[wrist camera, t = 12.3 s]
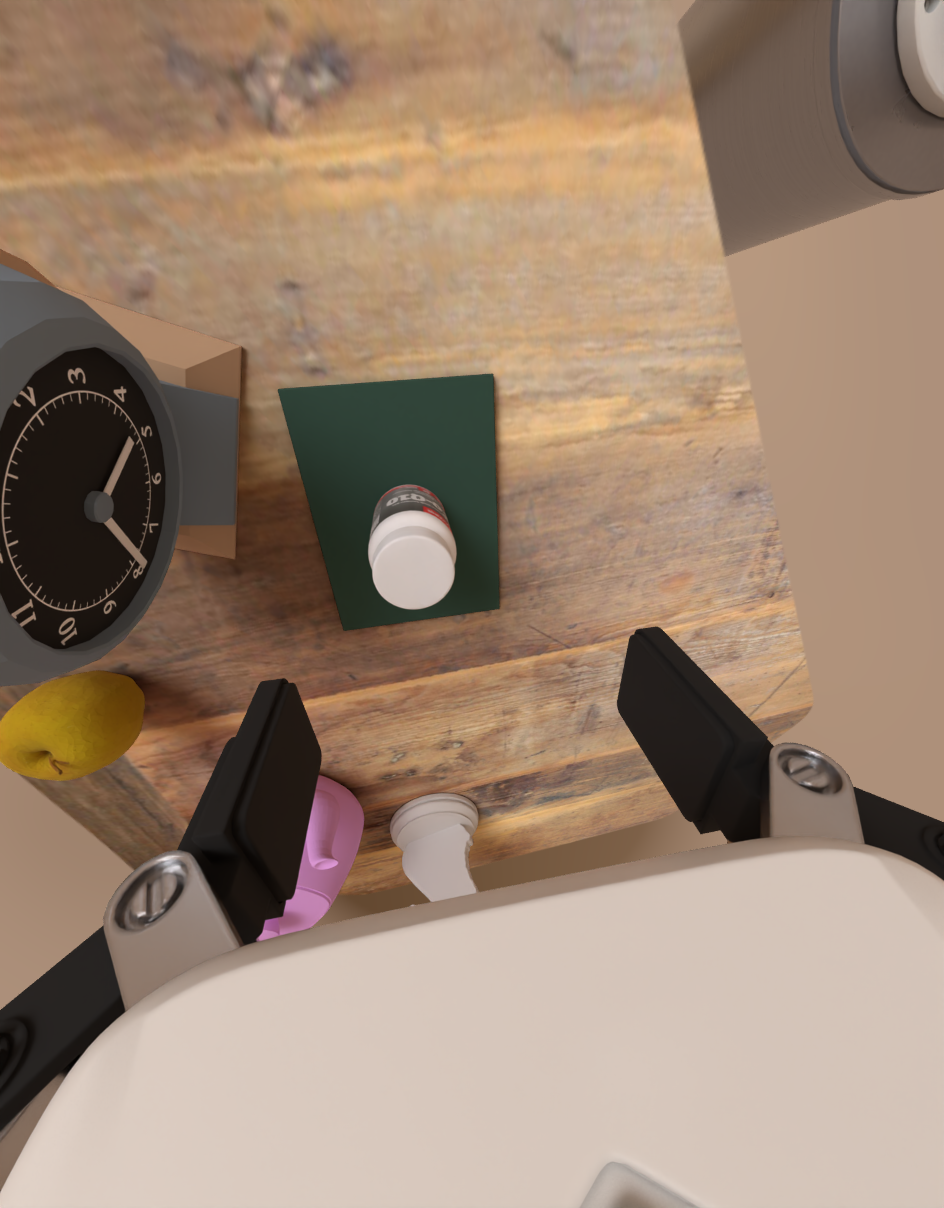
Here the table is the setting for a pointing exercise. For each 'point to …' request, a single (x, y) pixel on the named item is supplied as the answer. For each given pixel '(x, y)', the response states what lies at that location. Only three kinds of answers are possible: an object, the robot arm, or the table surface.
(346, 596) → the mat
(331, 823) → the teapot
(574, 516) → the table surface
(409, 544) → the pill bottle
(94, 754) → the apple
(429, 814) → the chess piece
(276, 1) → the table surface
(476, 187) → the table surface
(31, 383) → the alarm clock
